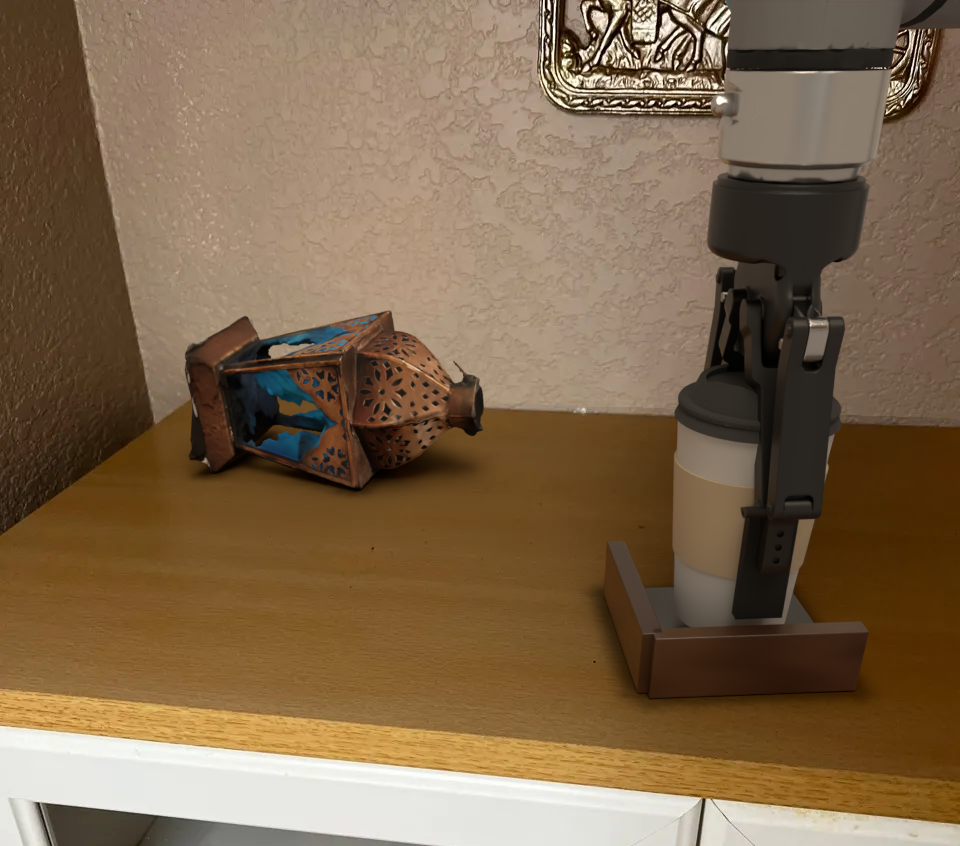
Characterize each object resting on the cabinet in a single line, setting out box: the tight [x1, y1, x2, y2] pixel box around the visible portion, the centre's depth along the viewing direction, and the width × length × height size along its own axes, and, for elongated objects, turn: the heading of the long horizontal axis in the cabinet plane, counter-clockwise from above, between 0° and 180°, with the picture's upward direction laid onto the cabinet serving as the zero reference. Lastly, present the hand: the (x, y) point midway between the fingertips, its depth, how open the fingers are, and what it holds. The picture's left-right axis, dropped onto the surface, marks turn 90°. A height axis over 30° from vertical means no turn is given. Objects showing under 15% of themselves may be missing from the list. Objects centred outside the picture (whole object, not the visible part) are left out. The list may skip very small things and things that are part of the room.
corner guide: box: [603, 540, 870, 699], centre depth 60 cm, size 13×13×4 cm
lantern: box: [184, 310, 485, 490], centre depth 85 cm, size 16×16×25 cm
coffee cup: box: [671, 364, 842, 627], centre depth 57 cm, size 9×9×15 cm
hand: (734, 577), depth 60 cm, fingers closed on coffee cup, 9 cm apart
